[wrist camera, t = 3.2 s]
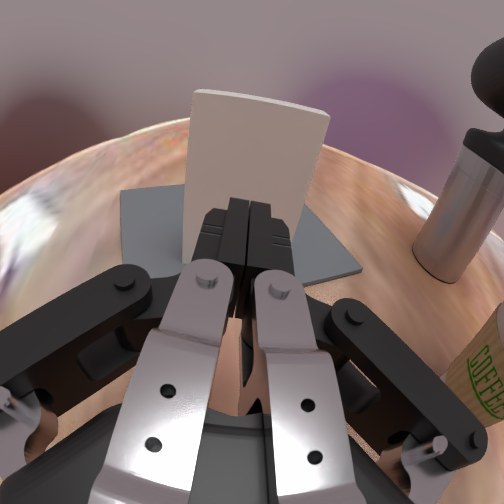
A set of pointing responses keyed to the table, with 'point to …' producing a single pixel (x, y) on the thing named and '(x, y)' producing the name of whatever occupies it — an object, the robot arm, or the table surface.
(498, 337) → the coffee cup
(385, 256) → the table surface
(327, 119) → the tile
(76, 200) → the table surface
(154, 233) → the mat
